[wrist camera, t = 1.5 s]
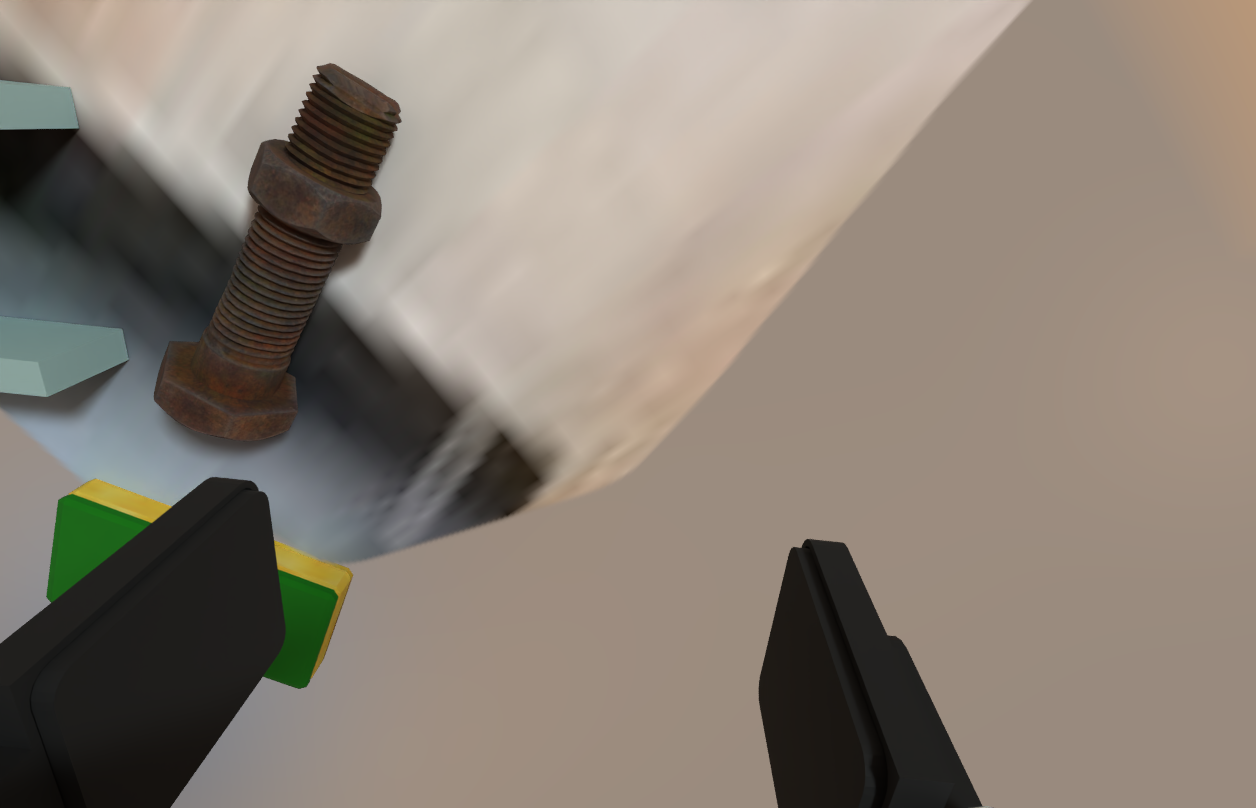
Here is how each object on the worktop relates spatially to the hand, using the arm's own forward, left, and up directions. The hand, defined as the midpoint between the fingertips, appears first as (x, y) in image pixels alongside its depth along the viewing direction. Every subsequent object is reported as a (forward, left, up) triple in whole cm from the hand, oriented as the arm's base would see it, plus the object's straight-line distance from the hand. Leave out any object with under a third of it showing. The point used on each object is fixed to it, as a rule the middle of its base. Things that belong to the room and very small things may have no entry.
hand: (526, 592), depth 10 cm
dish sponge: (+18, -20, -21) cm, 34 cm away
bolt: (0, -13, -21) cm, 24 cm away
